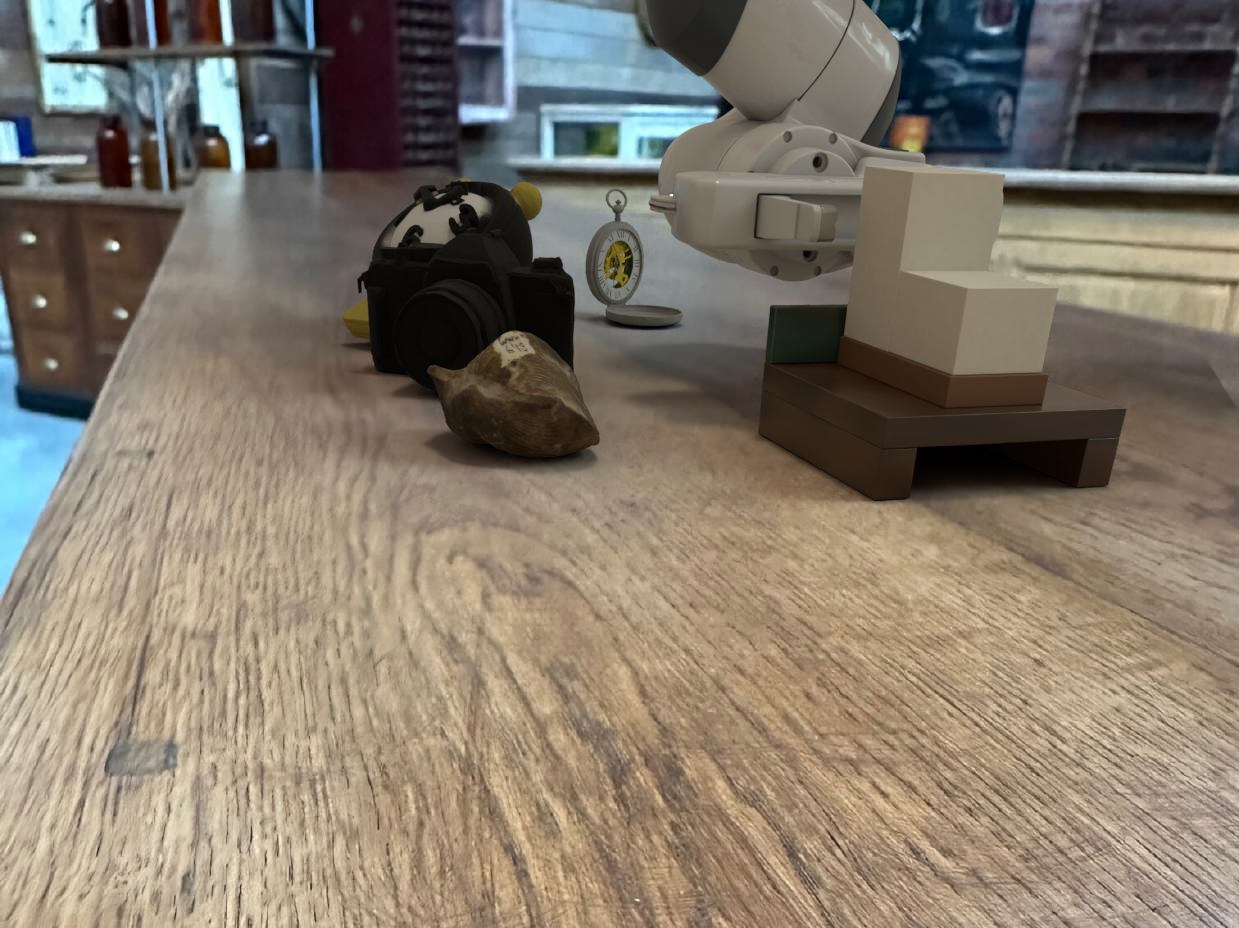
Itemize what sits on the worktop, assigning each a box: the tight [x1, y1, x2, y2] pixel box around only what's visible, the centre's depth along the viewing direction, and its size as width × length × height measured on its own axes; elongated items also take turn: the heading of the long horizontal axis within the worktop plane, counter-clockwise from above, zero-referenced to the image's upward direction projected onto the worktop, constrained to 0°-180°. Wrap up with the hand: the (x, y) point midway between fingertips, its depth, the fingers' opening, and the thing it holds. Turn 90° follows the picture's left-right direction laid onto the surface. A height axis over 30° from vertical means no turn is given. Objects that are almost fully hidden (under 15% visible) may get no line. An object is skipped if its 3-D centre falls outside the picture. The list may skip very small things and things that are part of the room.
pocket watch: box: [585, 187, 684, 328], centre depth 102 cm, size 8×8×10 cm
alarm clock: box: [341, 177, 543, 341], centre depth 93 cm, size 12×15×15 cm
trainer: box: [837, 166, 1060, 408], centre depth 63 cm, size 12×6×10 cm, turn 19°
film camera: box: [356, 227, 576, 392], centre depth 78 cm, size 15×10×9 cm, turn 73°
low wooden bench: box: [757, 303, 1128, 501], centre depth 66 cm, size 14×14×7 cm
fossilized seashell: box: [427, 331, 601, 459], centre depth 65 cm, size 8×7×10 cm
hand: (901, 226), depth 67 cm, fingers open, 8 cm apart
